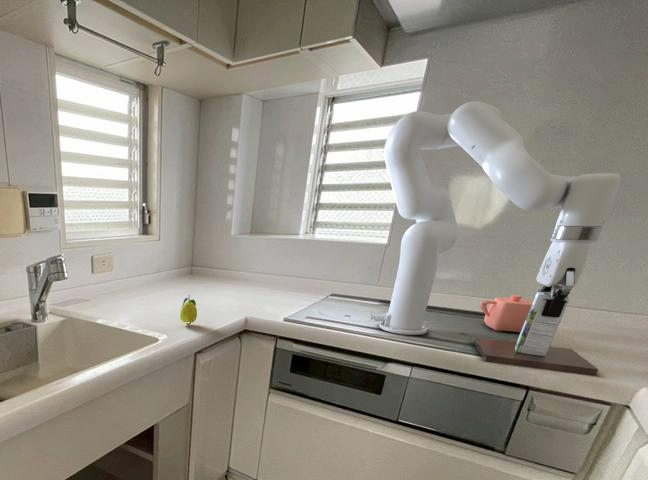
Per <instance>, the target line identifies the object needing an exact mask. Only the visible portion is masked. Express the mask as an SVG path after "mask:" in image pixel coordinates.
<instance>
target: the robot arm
mask: <svg viewBox="0 0 648 480" xmlns="http://www.w3.org/2000/svg"><path fill="white" fill-rule="evenodd" d="M454 147H460V148H462V150H464V151H465V152H466V153H467V154H468V155H469V156H470V157H471V158H473V160H474V161H475V162H476V163H477V164H478V165H479V166H480V167H481V168H482V169H483V171H484V173H485V174H486V176H487V177H488V178H489V179H490V180H491V181H492V182H491V183H493V184H494V185H495V187H496V188H497V189H498V190H499V191H500V192H501V193H502V194H503V195H504V196H505V197H506V198H507V199H509V200H510V201H511V202H512V203H513V204H514V205H515V206H516V207H518V208H520V209H522V210H523V211H535V212H536V211H540V212H541V211H552V210H560V212H559V215H558V217H557V220H556V223H555V226H554V229H553V231H552V234H551V236H550V239H549V241H550V242H551V244H550V246H549V247H548V250H547V252H546V254H545V256H544V258H543V261H542V263H541V265H540V267H539V271H538V273H537V275H536V278H535V280H536V282H537V283H539V284H540V287H539V288H538V291H537V292H551V293H550V298H549V299H547V300H546V303H545V305H544V308H543V311H542V313H541V315H542V316H546V317H560V315H561V312H562V310H563V307H564V305H565V302H566V300H567V298H568V297H569V295H570V294H571V291H572V290H573V289H574V287H576V286H577V284H578V282H579V280H580V278H581V276H582V274H583V270H584V269H585V265H586V262H587V259H588V256H589V254H590V250H591V246H592V244H595V243H596V244H597V243H598V239H599V238H600V235H601V232H602V231H603V227H604V225H605V223H606V220H607V217H608V215H609V212H610V210H611V208H612V205H613V202H614V200H615V197H616V195H617V193H618V190H619V188H620V185H621V183H622V176H621V174H619V173H617V172H615V173H614V172H600V173H599V172H597V173H584V174H580V175H577V176H572V175H571V176H569V175H559V174H553V173H550V172H549V171H548V170H546V169H545V167H543V166H542V165H541V164H540V163H539V162H538V161H536V159H535V158H533V157H532V155H530V153H529V152H528V150H527V149H526V148H525V143H524V138H523V136H522V135H521V134H520V133H519V132H518V131H517V130H516V129H514V128H513V127H512V126H511V125H510V124H508V123H507V121H505V120H504V119H503V118H502V114H501V111H500V110H499V109H498V108H497V107H496V106H495V105H492V104H490V103H486V102H483V101H479V100H472V101H468V102H466V103H463V104H462V105H460V106H459V107H457V108H456V109H455V110H454V111H453V112H451V113H445V114H437V113H434V112H429V111H424V110H416V111H412V112H408V113H407V114H405V115H403V116H402V117H401V118H399V120H398V121H397V122H396V123H395V124H394V125H393V127H392V128H391V129H390V131H389V133H388V135H387V137H386V140H385V144H384V153H383V155H384V162H385V165H386V169H387V173H388V176H389V180H390V184H391V188H392V193H393V196H394V200H395V205H396V208H397V212H398V214H399V215H400V216H401V217H402V218H403V219H405V220H412V221H413V220H415V223H414V224H413V225H411V226H410V227H409V228H408V229H407V230H406V231H405V232H404V233H403V236H402V237H401V243H400V251H399V262H398V268H397V271H396V272H397V273H396V276H395V277H396V278H395V282H394V285H393V290H392V295H391V299H390V304H389V308H388V311H386V313H382V314H380V313H379V314H378V313H373V312H372V313H370V318H369V319H370V320H373V321H375V322H380V323H379V328H380V329H381V330H383V331H386V332H388V333H393V334H398V335H404V336H405V335H407V336H421V335H425V334H427V331H428V328H427V327H426V326H424V325H423V322H424V319H425V315H426V311H427V309H428V304H429V300H430V296H431V293H432V290H433V285H434V282H435V277H436V273H437V269H438V261H439V259H438V258H439V257H438V256H439V254H443V253H444V254H445V253H446V252H448V251H449V250H451V249H453V247H454V246H455V245H456V243H457V242H458V239H459V226H458V223H457V218H456V215H455V212H454V208H453V204H452V201H451V197H450V194H449V193H448V191H447V190H446V188H445V187H443V186H441V185H439V184H436V183H431V180H430V178H429V175H428V173H427V169H426V165H425V162H424V160H423V158H422V156H421V153H420V150H425V151H428V150H429V151H430V150H439V149H448V148H454Z"/></svg>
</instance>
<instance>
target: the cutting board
mask: <svg viewBox="0 0 648 480" xmlns="http://www.w3.org/2000/svg"><path fill="white" fill-rule="evenodd" d="M516 343H517V342H515V341H504V340H496V339H489V338H488V339H486V338H479V337H475V338H474V339H473V345H474V347H475V348H476V350H477V351H478V352H479V354H480V355H481V357H482V359H483V360H484V362H492V363H498V364H504V365H505V364H506V365H513V366H521V367H528V368H535V369H546V370H551V371H560V372H566V373H574V374H580V375H581V374H582V375H588V376H589V375H590V376H596V375H597V373H598V371H599V368H598V367H596V366H595V365H593V364H592V363H590V361H588V360H587V359H585V358H584V357H583V356H582V355H580V354H579V353H577V352H576V350H574V349H572V348H566V347H560V346H559V347H558V346H550V347H549V349H548V352H547V354H546V356H538V355H531V354H525V353H519V352H516V351H515V346H516Z"/></svg>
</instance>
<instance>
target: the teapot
mask: <svg viewBox="0 0 648 480" xmlns="http://www.w3.org/2000/svg"><path fill="white" fill-rule="evenodd" d="M532 303H533V301H531V300H528V299H525V298H523V296H522V295H519V294H512V295H510V297H503V296H502V297H501V296H496V297H494V299H493V300H489V299H488V300H481V301H480V303H479V307H480V309H481V311H482V312H483V313H484V320H483V321H484V324H485V326H487V327H489V328H491V329H493V330H494V331H496V332H502V331H505V332H513V333H519V334H520V333H521V330H522V328H523V325H524V323H525V320H526V318H527V315H528V313H529V311H530V308H531V306H532ZM487 305H489V306H488V307H487Z"/></svg>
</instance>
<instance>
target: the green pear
mask: <svg viewBox="0 0 648 480" xmlns="http://www.w3.org/2000/svg"><path fill="white" fill-rule="evenodd" d="M190 296H191V295H190V294H188V297H185V298H184V300H183V303H182V306H181V308H180V311H179V318H180V319H179V320H181V322H182V321H183V322H182V323H184V322H192V323H194V322H195V321H196V320H197V317H198V309H197V306H196V305H197V303H196V300H195V299H190V298H189V297H190ZM186 301H187V302H186ZM192 323H185V324H186V325H187V326H190V325H191V324H192Z"/></svg>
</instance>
